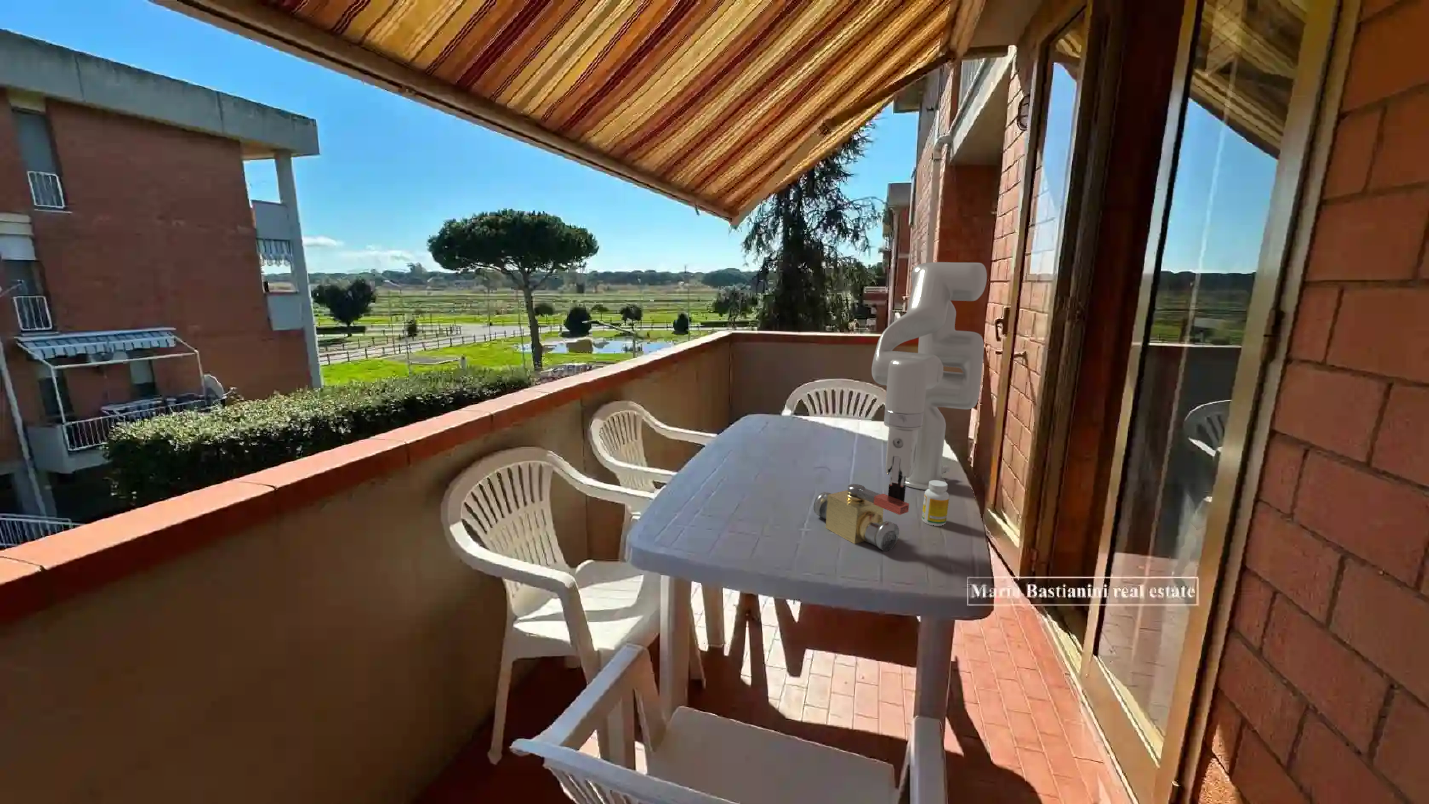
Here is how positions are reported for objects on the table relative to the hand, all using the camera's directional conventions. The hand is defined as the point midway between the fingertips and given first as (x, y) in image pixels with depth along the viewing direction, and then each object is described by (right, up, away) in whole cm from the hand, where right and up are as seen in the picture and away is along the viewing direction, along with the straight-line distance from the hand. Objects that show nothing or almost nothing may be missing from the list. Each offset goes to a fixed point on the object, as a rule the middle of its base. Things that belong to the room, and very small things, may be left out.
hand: (895, 502), depth 119 cm
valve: (-7, -8, +6) cm, 13 cm away
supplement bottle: (+13, -7, +13) cm, 20 cm away
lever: (-4, 0, 0) cm, 4 cm away
